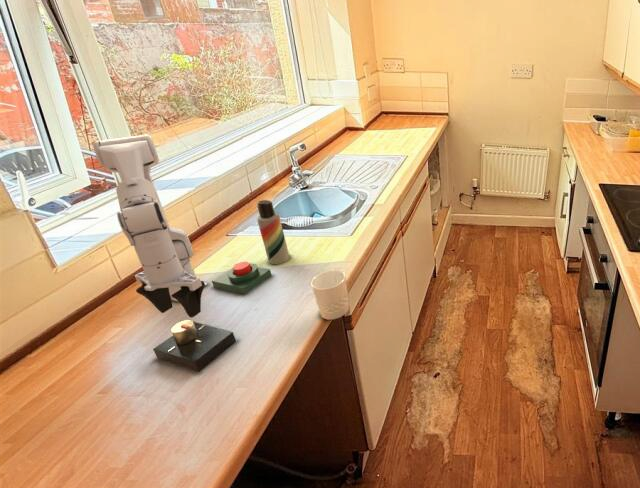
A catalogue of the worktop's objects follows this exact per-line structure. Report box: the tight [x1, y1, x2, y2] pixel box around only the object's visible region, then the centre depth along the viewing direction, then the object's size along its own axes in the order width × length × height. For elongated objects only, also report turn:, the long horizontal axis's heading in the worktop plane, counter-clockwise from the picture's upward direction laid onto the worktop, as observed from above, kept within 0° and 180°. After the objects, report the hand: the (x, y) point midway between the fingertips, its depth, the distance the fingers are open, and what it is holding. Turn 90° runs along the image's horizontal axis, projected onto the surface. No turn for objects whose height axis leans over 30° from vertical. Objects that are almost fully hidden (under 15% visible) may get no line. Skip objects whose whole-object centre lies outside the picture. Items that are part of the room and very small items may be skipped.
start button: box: [232, 261, 251, 275], centre depth 112 cm, size 4×4×2 cm
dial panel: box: [152, 321, 237, 373], centre depth 90 cm, size 12×9×3 cm
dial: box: [170, 319, 198, 345], centre depth 89 cm, size 4×4×4 cm
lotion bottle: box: [256, 199, 290, 265], centre depth 120 cm, size 6×6×20 cm
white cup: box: [310, 269, 350, 321], centre depth 101 cm, size 8×8×10 cm
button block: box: [211, 262, 272, 295], centre depth 113 cm, size 11×9×4 cm
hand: (181, 312), depth 87 cm, fingers open, 7 cm apart
